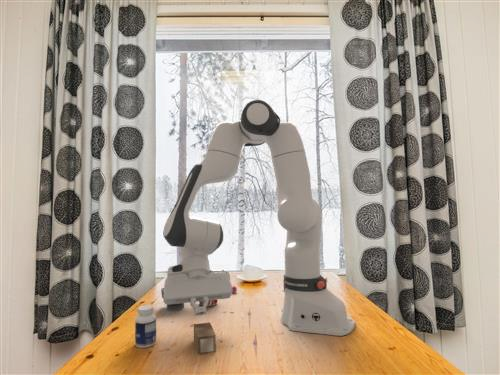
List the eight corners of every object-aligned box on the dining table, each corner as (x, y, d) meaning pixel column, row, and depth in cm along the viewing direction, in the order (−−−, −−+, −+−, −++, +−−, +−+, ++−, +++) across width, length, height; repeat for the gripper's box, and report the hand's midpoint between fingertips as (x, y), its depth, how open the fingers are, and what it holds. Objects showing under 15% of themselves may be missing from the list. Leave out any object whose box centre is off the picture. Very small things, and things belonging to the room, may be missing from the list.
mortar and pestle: (159, 312, 112) (158, 277, 112) (163, 304, 121) (163, 271, 121) (192, 311, 113) (191, 276, 113) (194, 302, 122) (193, 270, 123)
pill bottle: (131, 344, 87) (131, 307, 87) (150, 338, 91) (150, 302, 91) (140, 350, 83) (140, 312, 84) (159, 343, 87) (159, 307, 87)
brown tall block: (209, 322, 90) (215, 334, 82) (210, 338, 90) (215, 353, 81) (193, 324, 89) (197, 337, 80) (193, 340, 89) (198, 355, 80)
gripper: (227, 274, 106) (234, 315, 96) (162, 280, 100) (163, 323, 90) (230, 263, 102) (238, 304, 92) (162, 268, 96) (164, 312, 86)
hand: (200, 314), depth 91 cm, fingers closed
